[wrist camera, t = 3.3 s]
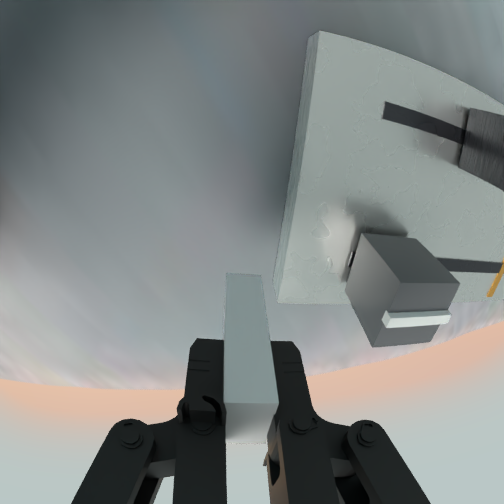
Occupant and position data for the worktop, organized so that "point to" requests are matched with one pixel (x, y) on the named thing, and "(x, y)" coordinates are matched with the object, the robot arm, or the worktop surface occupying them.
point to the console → (390, 171)
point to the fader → (399, 290)
